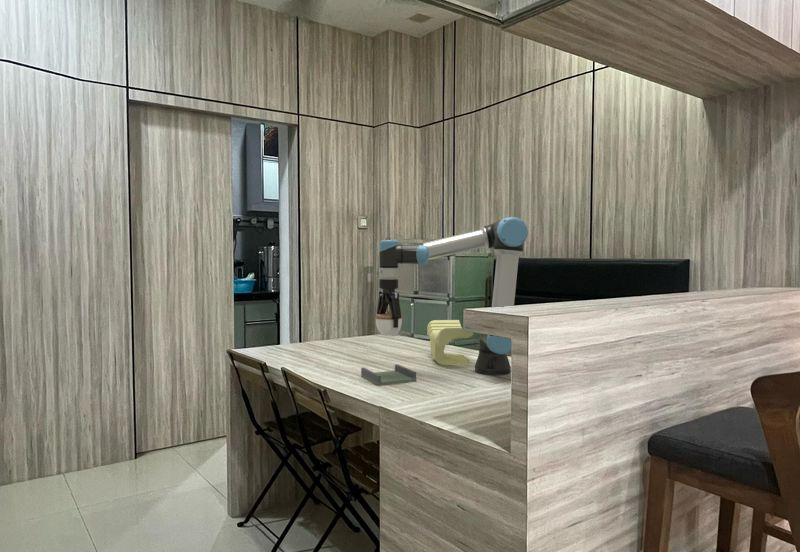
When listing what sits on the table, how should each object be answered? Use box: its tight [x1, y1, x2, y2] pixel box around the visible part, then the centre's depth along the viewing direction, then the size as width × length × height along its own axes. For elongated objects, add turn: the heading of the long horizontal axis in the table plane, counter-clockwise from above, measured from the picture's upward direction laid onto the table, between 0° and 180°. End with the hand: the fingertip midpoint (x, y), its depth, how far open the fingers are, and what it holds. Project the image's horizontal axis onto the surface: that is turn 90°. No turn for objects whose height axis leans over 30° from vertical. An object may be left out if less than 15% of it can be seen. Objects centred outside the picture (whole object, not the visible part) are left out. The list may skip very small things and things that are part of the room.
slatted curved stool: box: [426, 319, 475, 366], centre depth 249 cm, size 30×16×18 cm, turn 7°
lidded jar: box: [374, 310, 403, 337], centre depth 212 cm, size 11×11×9 cm
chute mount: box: [360, 363, 417, 387], centre depth 213 cm, size 16×17×4 cm
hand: (388, 334), depth 212 cm, fingers closed on lidded jar, 11 cm apart
